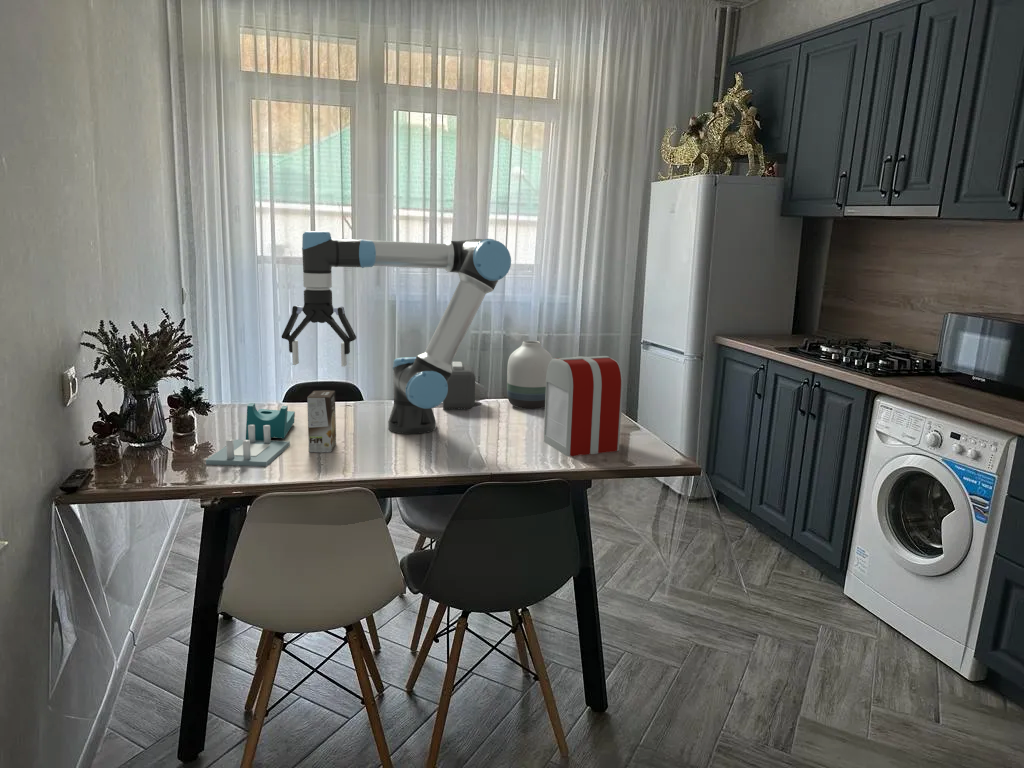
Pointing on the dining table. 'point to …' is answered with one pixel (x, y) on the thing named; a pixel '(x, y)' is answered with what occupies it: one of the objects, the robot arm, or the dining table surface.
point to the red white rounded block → (583, 405)
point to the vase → (528, 375)
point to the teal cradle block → (269, 421)
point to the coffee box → (321, 421)
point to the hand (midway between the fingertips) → (320, 364)
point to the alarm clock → (460, 387)
